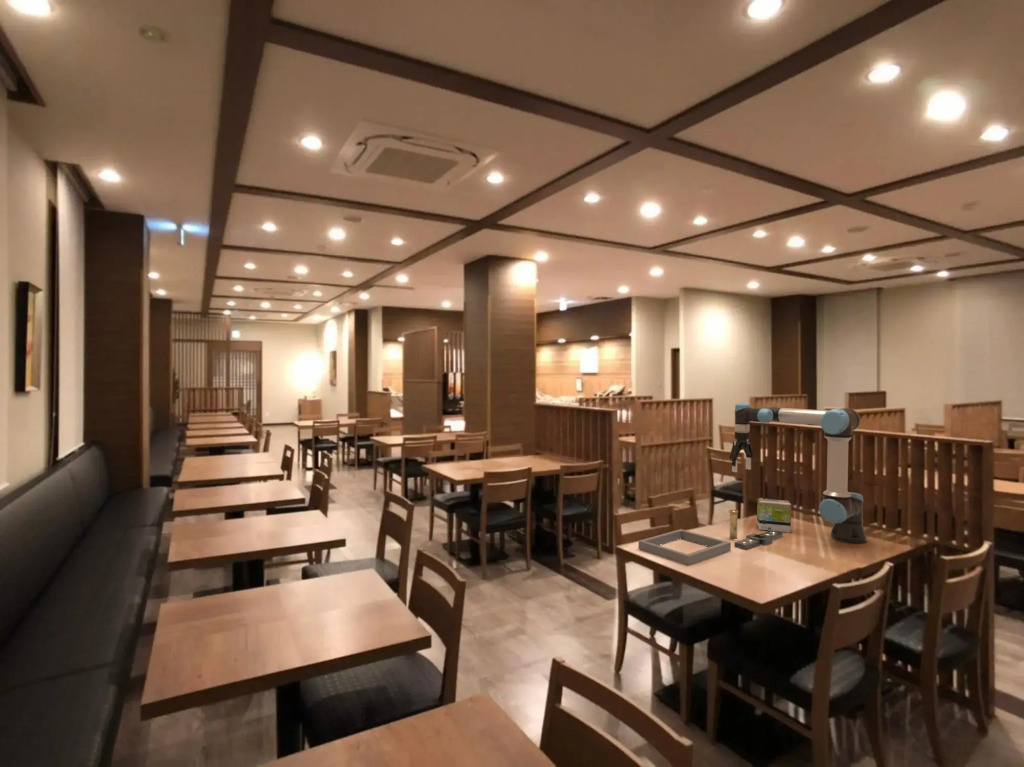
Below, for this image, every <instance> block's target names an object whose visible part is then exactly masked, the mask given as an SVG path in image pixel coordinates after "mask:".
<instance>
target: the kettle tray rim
mask: <svg viewBox="0 0 1024 767" xmlns="http://www.w3.org/2000/svg"><path fill="white" fill-rule="evenodd" d="M680 538H684V539H687V540H686V541H688V540H690V541H689V542H691V541H694V542H693V543H695V542H697V543H696V544H698V543H700V544H699V545H702V544H704V545H703V546H705V545H707V546H706V547H705V548H703V549H699V550H697V551H692V552H690V553H684V552H681V551H679V550H674V549H673V548H669V547H664V546H662V545H665V544H664V543H666V544H668V543H667V542H669V543H671V542H670V541H673V542H675V541H674V540H676V541H678V540H677V539H679V540H681V539H680ZM684 539H683V540H684ZM660 544H662V545H660ZM637 545H638V550H639V549H640V550H639V551H643V552H645V553H648V554H651V555H654V556H658V557H661V558H664V559H666V560H670V561H673V562H676V563H679V564H682V565H684V566H692V565H695V564H697V563H701V562H703V560H704V561H707V560H708V559H712V558H714V557H717V556H721V555H724V554H726V552H727V553H729V552H728V551H730V552H731V551H732V550H731V545H732V542H730V541H727V540H723V539H720V538H716V537H712V536H708V535H705V534H700V533H696V532H694V531H690V530H686V529H683V528H680V529H676V530H673V531H669V532H666V533H662V534H659V535H655V536H651V537H647V538H644V539H640V540H638V544H637ZM709 546H710V547H709ZM723 553H724V554H723ZM720 554H721V555H720ZM706 559H707V560H706Z"/></svg>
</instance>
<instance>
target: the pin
mask: <svg viewBox="0 0 1024 767" xmlns="http://www.w3.org/2000/svg"><path fill="white" fill-rule="evenodd" d="M728 513H729V540H731V539H737V540H738V514H739V510H737V509H729V510H728Z"/></svg>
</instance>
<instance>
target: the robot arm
mask: <svg viewBox="0 0 1024 767" xmlns="http://www.w3.org/2000/svg"><path fill="white" fill-rule="evenodd" d="M734 406H735V407H734V431H735V432H734V439H735V440H736V441H732V447H731V450H730V454H729V460H731V472H733V473H738V457H739V455H740V453H741V451H742V450H743V452H744V454H745V456H746V457H745V470H749V471H751V470H752V459H753V458H754V451H753V447H752V442H751V439H750V430H751V429H750V426H751V424H750V423H751V422H752V423H759V424H760V423H761V424H770V423H771V422H778V423H779V422H780V423H792V424H793V423H794V424H802V425H803V424H804V425H814V426H815V425H817V426H820V427H821V429H822V430H823V437H824V438H825V439H826V440H827V456H826V458H827V462H826V463H827V464H826V490H824V491H823V494H822V500H821V502H820V503H819V506H818V512H819V514H820V516H821V518H823V520H824V521H826V522H828V523H831V524H833V526H832V528H831V531H830V538H832V539H833V540H835V541H839V542H844V543H849V544H863V543H867V540H868V539H867V535H866V534H867V533H866V531H865V528H864V526H863V525H864V524H863V521H864V518H863V517H864V513H863V512H864V496H863V494H861V493H857V492H852V491H851V492H850V491H848V482H849V480H848V479H849V473H848V472H849V442H850V441H851V439H853V431H855V430H857V429H858V428H859V426H860V423H861V416H860V415H859V413H858V412H857V411H855V410H854V409H852V408H850V407H849V408H847V407H843V408H832V409H828V410H827V409H826V410H825V409H809V408H807V409H806V408H804V409H803V408H790V407H789V408H788V407H787V408H786V407H777V406H770V407H759V408H758V407H751V404H750V403H736V404H735V405H734Z"/></svg>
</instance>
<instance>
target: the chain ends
mask: <svg viewBox="0 0 1024 767" xmlns="http://www.w3.org/2000/svg"><path fill="white" fill-rule="evenodd" d="M783 533H784V532H779V531H772V530H766V531H764V532H762V533H754V532H753V533H751V534H750V533H749V534H747V535H745V538H744V539H741V540H737V541H735V542H734V543H733V544H734V546H735V547H734V546H733V547H734V548H737V547H738V548H737V549H742V550H744V549H745V550H746V551H748V550H751V549H754V548H755V547H759V546H767V545H770V544H771V545H772V544H773V541H775V540H778V539H782V538H783V535H784V534H783Z"/></svg>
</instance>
